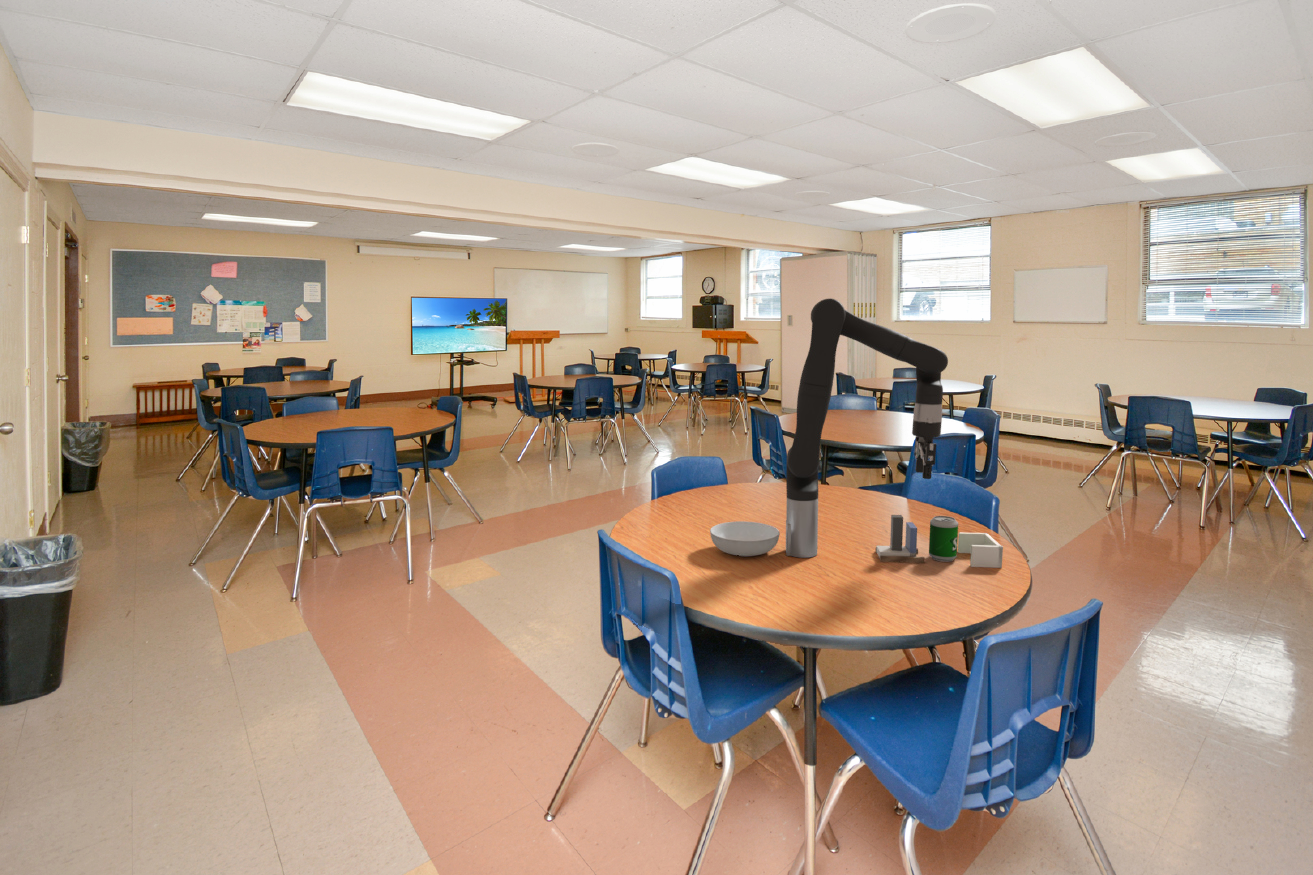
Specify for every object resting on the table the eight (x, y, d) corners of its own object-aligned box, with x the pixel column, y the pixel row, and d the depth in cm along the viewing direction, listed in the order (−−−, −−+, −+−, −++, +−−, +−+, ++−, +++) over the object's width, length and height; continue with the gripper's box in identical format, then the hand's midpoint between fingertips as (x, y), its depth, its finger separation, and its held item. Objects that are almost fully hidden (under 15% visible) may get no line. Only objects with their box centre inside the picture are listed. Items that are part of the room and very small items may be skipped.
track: (880, 561, 192) (880, 556, 192) (875, 551, 201) (875, 546, 201) (924, 562, 190) (924, 557, 190) (917, 552, 199) (917, 547, 199)
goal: (971, 566, 187) (972, 546, 186) (957, 551, 199) (958, 532, 198) (1001, 567, 185) (1003, 546, 184) (986, 552, 198) (987, 533, 197)
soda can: (948, 564, 189) (950, 523, 187) (923, 558, 194) (925, 518, 192) (961, 558, 193) (963, 518, 191) (936, 552, 199) (938, 513, 197)
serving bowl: (778, 565, 191) (778, 542, 190) (706, 561, 196) (705, 539, 194) (780, 542, 211) (780, 521, 210) (714, 540, 216) (714, 519, 215)
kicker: (879, 558, 194) (881, 518, 192) (876, 551, 199) (877, 512, 198) (916, 559, 192) (917, 519, 190) (911, 552, 198) (912, 513, 196)
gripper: (908, 415, 196) (904, 469, 199) (919, 422, 183) (915, 480, 185) (934, 416, 195) (930, 471, 198) (948, 423, 181) (943, 481, 184)
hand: (923, 475), depth 192 cm, fingers open, 8 cm apart
